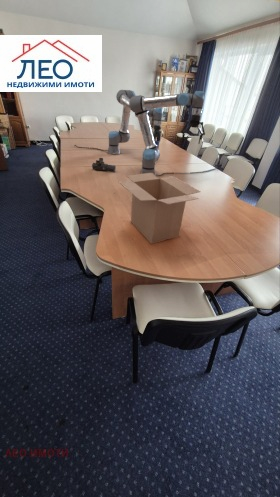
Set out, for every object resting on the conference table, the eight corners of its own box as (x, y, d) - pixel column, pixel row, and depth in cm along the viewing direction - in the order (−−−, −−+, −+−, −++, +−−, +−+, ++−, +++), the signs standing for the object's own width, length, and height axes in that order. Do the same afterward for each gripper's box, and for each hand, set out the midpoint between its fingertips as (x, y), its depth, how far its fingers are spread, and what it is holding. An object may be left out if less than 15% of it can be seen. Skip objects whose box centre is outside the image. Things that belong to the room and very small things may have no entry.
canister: (150, 152, 238) (151, 141, 231) (152, 151, 243) (154, 140, 236) (156, 153, 236) (158, 142, 229) (158, 152, 241) (160, 141, 234)
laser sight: (113, 173, 208) (113, 162, 203) (90, 170, 211) (89, 159, 205) (116, 170, 216) (116, 159, 210) (94, 167, 219) (93, 157, 213)
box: (200, 241, 124) (213, 195, 108) (145, 257, 109) (150, 207, 93) (159, 208, 154) (164, 169, 138) (112, 217, 139) (111, 174, 123)
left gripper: (155, 126, 215) (153, 151, 229) (165, 124, 229) (162, 148, 242) (149, 125, 218) (147, 150, 232) (159, 123, 232) (157, 147, 245)
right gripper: (211, 115, 180) (205, 143, 193) (180, 112, 183) (176, 140, 196) (212, 116, 174) (205, 145, 187) (180, 113, 177) (176, 142, 190)
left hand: (155, 149), depth 237 cm, fingers closed on canister, 7 cm apart
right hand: (190, 142), depth 191 cm, fingers open, 13 cm apart
